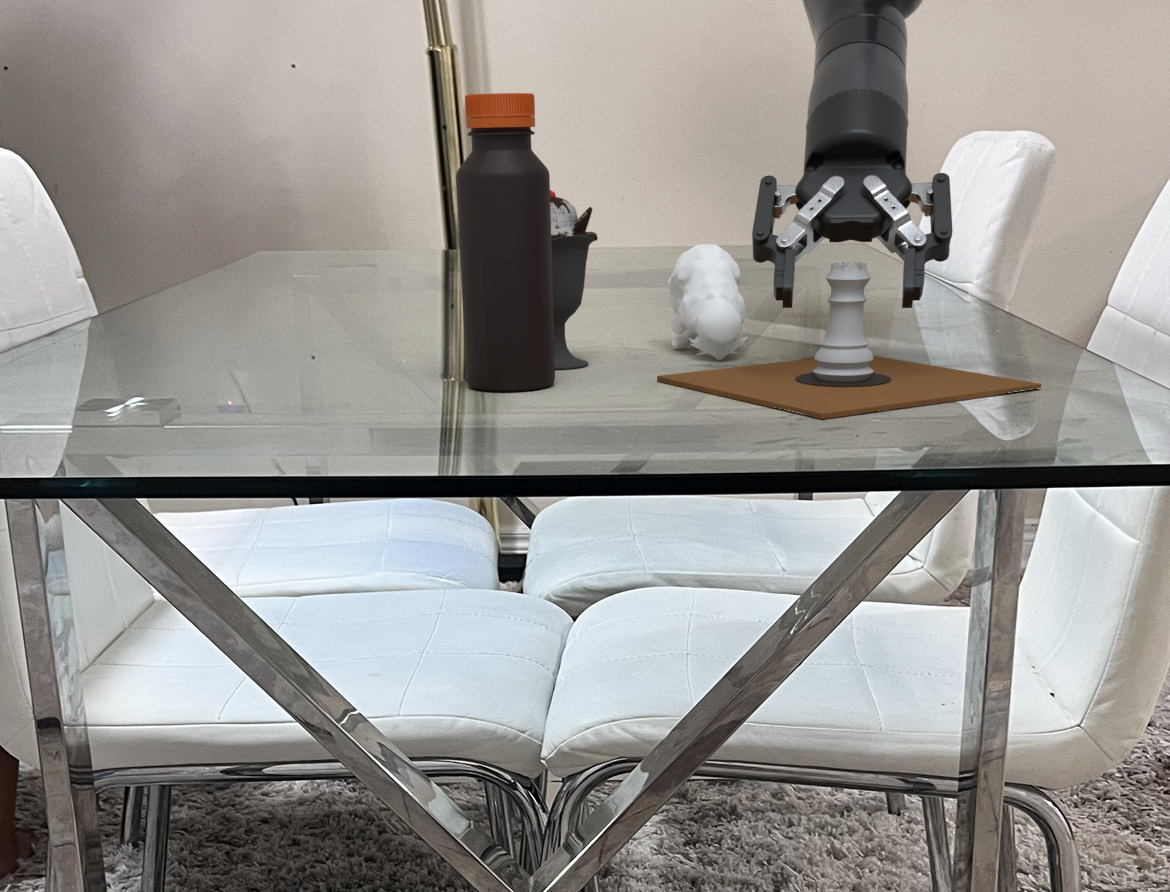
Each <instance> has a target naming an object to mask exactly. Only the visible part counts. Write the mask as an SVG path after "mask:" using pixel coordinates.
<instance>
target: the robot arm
mask: <svg viewBox="0 0 1170 892" xmlns="http://www.w3.org/2000/svg"><path fill="white" fill-rule="evenodd" d="M801 1H802V4H803V7H804V10H805V11H804V12H805V14H806V18H807V22H808V24H809V27H810V30H811V35H812V38H813V42H814V45H815V48H814V49H815V50H814V65H813V66H814V67H813V78H812V85H811V88H810V91H809V92H810V93H809V98H808V104H807V117H806V125H805V130H806V133H805V144H804V145H805V147H804V161H803V175H802V177H801V179H800V180H799V181H798V182H797V184H796V185H794V184H778V179H777V178H776V177H775V176H773V175H771V174H769V175H764V176H763V177H762V178H761V180H760V182H759V187H758V195H757V201H756V206H755V213H754V219H753V225H752V231H751V238H752V239H751V241H752V259H753V261H755V263H760V264H762V263H765V262H767V261H768V262H771V263H772V264H773V265H774V269H773V270H774V271H773V296H774V299H775V301H782V308H783V309H793V303H794V288H795V272H796V263H797V262H798V261H799V260H800V259H801V258H802V257H803V256H804V255H805V254H807V255H809V254H811V252H813V251H814V249H816V248H817V247H818V246H819V245H820V243H822V242H823V241H824V240H825V239H828V241H829V242H828V243H843V242H848V241H854V242H859V243H872V242H873V239H878V241H880V243H881V244H882V245H883V246H884V247H885V248H886V249H887V250H888V251H889V252H890V253H891V254H894V253H895V254H896V255H897V256H898V257H899V258H900V259H901V260H902V261H903V269H902V270H903V271H902V295H901V296H902V298H901V309H913V303H914V302H913V301H920V300H921V298H922V296H923V292H924V285H925V265H926V264H927V263H928V262H930V261H933V260H934V261H936V262H939V263H941V262H945V261H947V260H948V259H949V257H950V251H951V250H950V246H951V240H952V238H953V214H952V213H953V212H952V201H951V200H952V199H951V198H952V197H951V179H950V175H948V174H947V173H945V172H938V173H935V174H934V175H933V176H932V181H931V182H930V181H929V182H928V181H927V182H918V183H917V182H915V183H914V182H913V183H912V182H911V180H910V178H909V177H908V175H907V147H908V146H907V145H908V127H909V118H908V117H909V91H908V90H909V89H908V84H907V62H908V61H907V59H908V28H907V23H906V20H907V19H909V18H910V17H911V16H912V15H913V14H914V13H915V12H916V11H917V10H918V9H919V7H920V6H921V4H922V3H923V1H924V0H801ZM911 203H915V204H916V205H918V207H919V211H920V212H922V213H923V216H924V217H926V218H928V217H929V221H930V232H929V233H924V232H923V231H922V230H921V229H920V228H919V226H917V224H916V223H914V221H913V220H912V218H911V215H910V212H909V211H908V208H909V206H910V204H911ZM792 205H795V207H796V209H797V210H798V211H797V212H796V214H795V215H794V218H793V220H792V222H790V224H789V225H788V226H787V227H786V228H785V229H784V230H783V231H782V232H781V233H780V234H779V235H776V234H774V227H775V220H776V219H781V218H782V215H783V214H784V213H785V212H786V210H787V208H788V207H790V206H792Z"/></svg>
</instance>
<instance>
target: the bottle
mask: <svg viewBox="0 0 1170 892" xmlns="http://www.w3.org/2000/svg"><path fill="white" fill-rule="evenodd" d="M535 102H536V101H535V94H534V93H532V92H531V93H530V92H498V93H497V92H496V93H472V94H471V93H470V94H466V95H464V105H465V106H464V108H465V126H466V129H470V132H467V136H468V137H471V138H470V139H471V151H470V153H469V154H468V155H467V157H466V159H465V160H464V161H463V162H462V164H461V165H460V166H459V168H458V169H457V171H456V174H455V188H456V189H455V190H456V204H457V205H456V207H457V209H456V210H457V224H458V226H457V227H458V244H459V247H458V248H459V263H460V264H459V265H460V281H461V282H460V283H461V284H460V285H461V301H462V316H463V317H462V319H463V341H464V358H465V359H464V361H465V375H466V377H465V378H466V384H467V385H468V386H469V387H470V388H472V389H474V390H478V391H485V392H501V393H502V392H503V393H504V392H505V393H506V392H507V393H509V392H526V391H535V390H540V389H544V388H548V387H550V386H552V385H553V384H554V383H555V379H556V370H555V358H554V321H553V284H552V247H551V211H550V190H551V181H550V179H551V178H550V177H551V176H550V171H549V168H548V167H547V166H546V164H545V163H543V161H542V160H541V159H540V158H539V157H538V155H536V153H535V152H534V151H533V150H532V136H533V135H535V134H536V133H535V131H534V130H532V128H536V107H535V105H536V103H535Z"/></svg>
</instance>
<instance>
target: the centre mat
mask: <svg viewBox="0 0 1170 892" xmlns="http://www.w3.org/2000/svg"><path fill="white" fill-rule="evenodd" d="M814 358H815V357H814ZM814 358H803V359H796V360H795V359H794V360H787V361H779V362H778V361H777V362H768V363H760V364H759V363H758V364H752V365H751V364H750V365H742V366H733V367H724V368H714V369H706V370H697V371H689V372H688V371H687V372H681V373H670V374H662V375H661V374H660V375H657V376H656V382H659V383H664V384H669V385H672V386H676V387H681V388H684V389H689V390H693V391H697V392H703V393H707V394H711V395H715V396H720V397H725V398H728V399H733V400H737V401H741V402H745V403H750V404H754V405H758V406H762V405H764V406H763V407H767V406H769V407H768V408H771V407H776V408H781V409H786V410H790V411H794V412H799V413H803V414H806V415H809V416H808V417H810V416H812V417H811V418H814V417H815V419H819V420H826V419H834V418H835V419H836V418H841V417H842V418H843V417H849V416H856V415H863V414H862V413H865V414H869V413H868V412H872V413H874V412H873V411H878V410H886V411H888V410H887V409H894V410H898V409H897V408H901V409H908V408H914V407H916V408H917V407H923V406H930V405H938V404H943V403H953V402H957V401H966V400H973V399H981V398H987V397H986V396H989V397H994V396H993V395H996V396H1000V395H999V394H1003V395H1006V394H1005V393H1008V392H1014V391H1020V390H1028V389H1029V390H1030V389H1037V388H1041V389H1042V383H1038V382H1034V381H1033V382H1032V381H1027V380H1020V379H1016V378H1009V377H1004V376H998V375H997V376H996V375H991V374H985V373H979V372H973V371H969V370H962V369H956V368H950V367H943V366H938V365H931V364H925V363H921V362H914V361H908V360H902V359H895V358H891V357H884V356H878V355H873V358H874V359H873V360H872V361H871V362H870V364H869V365H868V366H869V367H870V368H871V369H872V370H873V373H872V374H871V375H870V377H869V378H868V379H866V380H862V381H852V382H836V381H825V380H820V379H818V378H817V377H816V375H815V374H814V372H813V370H814V369H816V368H817V367H818V366H819V365H818V363H817V362H816V360H815V359H814ZM980 397H981V398H980ZM937 403H938V404H937ZM806 415H805V416H806Z"/></svg>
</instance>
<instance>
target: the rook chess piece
mask: <svg viewBox="0 0 1170 892" xmlns="http://www.w3.org/2000/svg"><path fill="white" fill-rule="evenodd" d="M867 269H868V263H867V262H861V261H854V262H853V263H851V264H850V262H849V261H842V262H841V263H840V262H832V263H831V264H830V271H829V272H828V273H827V275H826V276H825V280H826V282H827V283H828V285H829V286H830V296H829V297H828V298H827V301H828V303H829V315H828V320H827V325H826V326H827V327H826V332H825V335H824V338H823V341H821V343H820V345H821V347H820V348H819V349H818V350H817V352H815V355H814V359H815V360H816V362H817V363H818V365H819V366H818V367H817V368H816V369H814V370H813V372H814V374H815V375H816V377H817V378H818V379H820V380H825V381H836V382H852V381H862V380H866V379H868V378H869V377H870V375H871V374H872V373H873V370H872V369H871V368H870V367H869V366H868V365H869V364H870V362H871V361H872V360H873V359H874V358H873V356H874V354H873V352H872V351H871V349H870V348H869V347H868V346H869V341H867V338H866V334H865V333H866V332H865V322H864V321H865V319H864V307H865V303H866V302H867V300H868V298H867V297H866V296H865V289H866V286H867V284H868V283H869V282H870V280H871V279H872V276H871V275H870V273H869V272H868V270H867Z"/></svg>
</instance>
